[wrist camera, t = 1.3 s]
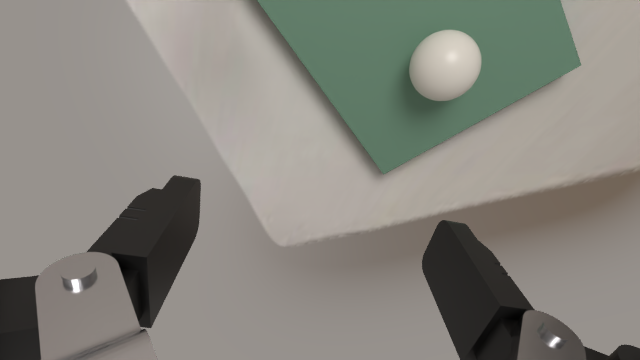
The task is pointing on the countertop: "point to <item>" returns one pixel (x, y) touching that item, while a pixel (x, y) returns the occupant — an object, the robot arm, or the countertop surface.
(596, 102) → the countertop surface
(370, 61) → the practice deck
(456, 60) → the ball
